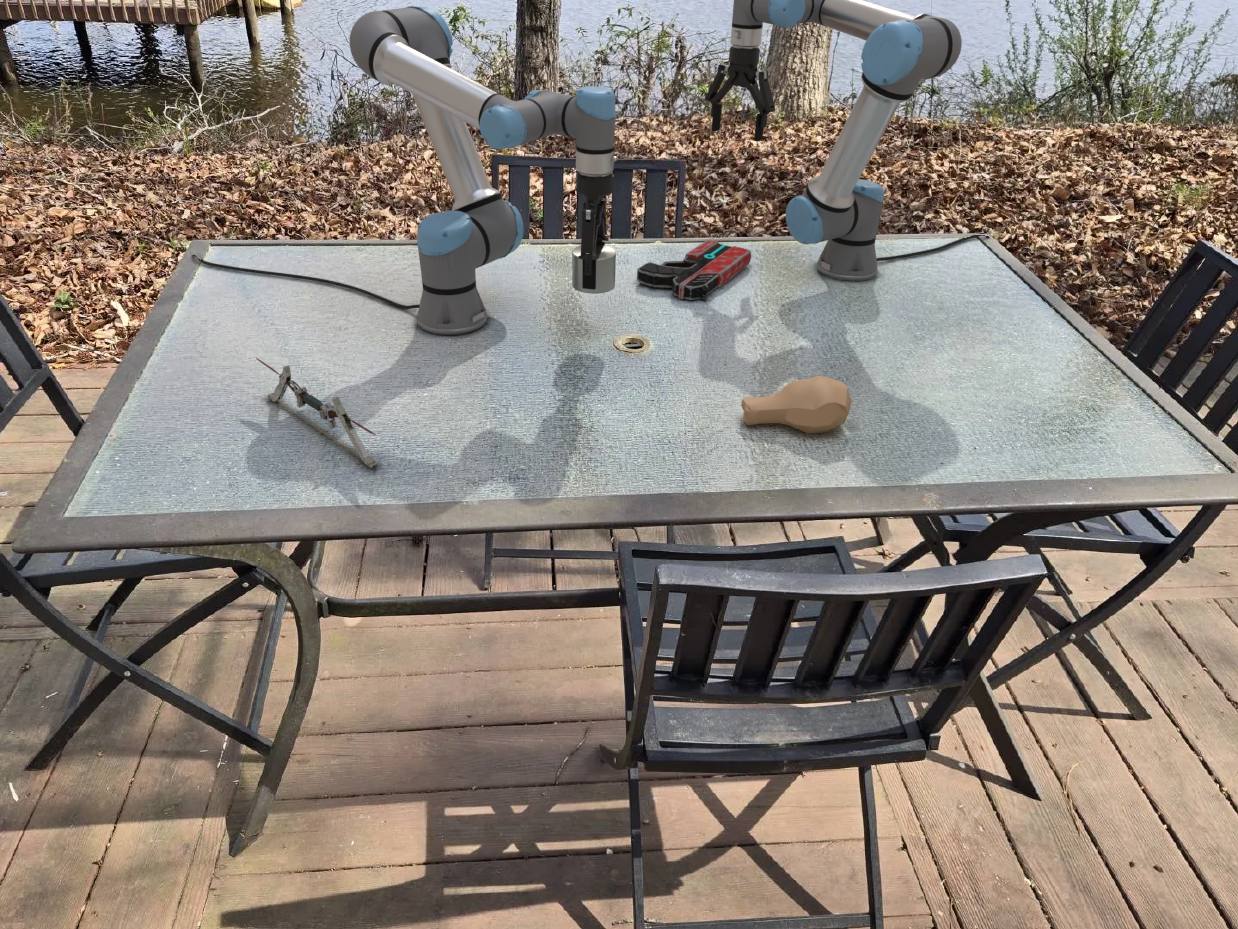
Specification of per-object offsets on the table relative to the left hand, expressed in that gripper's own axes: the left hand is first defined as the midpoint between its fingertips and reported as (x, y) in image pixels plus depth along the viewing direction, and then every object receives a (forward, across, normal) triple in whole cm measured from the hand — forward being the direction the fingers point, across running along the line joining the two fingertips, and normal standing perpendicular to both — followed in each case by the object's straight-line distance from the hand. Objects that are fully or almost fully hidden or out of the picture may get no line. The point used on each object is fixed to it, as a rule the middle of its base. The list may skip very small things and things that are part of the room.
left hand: (593, 279), depth 186 cm
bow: (+13, -50, +40) cm, 65 cm away
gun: (+13, +39, -19) cm, 46 cm away
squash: (+13, -30, -44) cm, 55 cm away
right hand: (-16, +66, -25) cm, 73 cm away
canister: (+1, 0, 0) cm, 1 cm away
